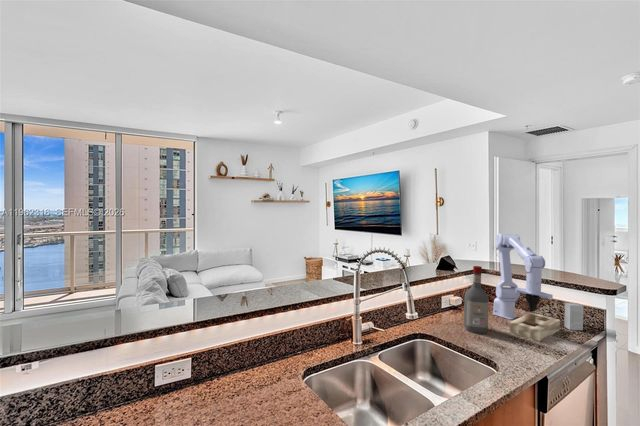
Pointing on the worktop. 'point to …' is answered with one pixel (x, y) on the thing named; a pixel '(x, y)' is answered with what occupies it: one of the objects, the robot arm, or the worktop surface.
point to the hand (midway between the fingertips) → (532, 311)
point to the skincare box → (573, 316)
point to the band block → (535, 327)
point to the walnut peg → (530, 319)
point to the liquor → (476, 305)
